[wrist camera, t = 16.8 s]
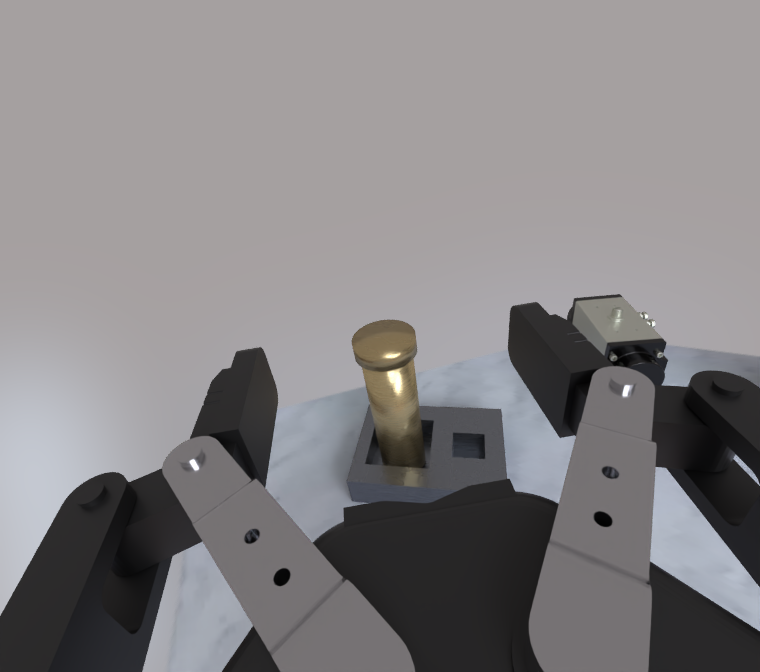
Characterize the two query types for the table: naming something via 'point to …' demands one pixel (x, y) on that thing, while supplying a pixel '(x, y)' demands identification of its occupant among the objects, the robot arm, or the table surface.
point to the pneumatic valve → (621, 334)
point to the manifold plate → (432, 457)
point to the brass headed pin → (392, 390)
